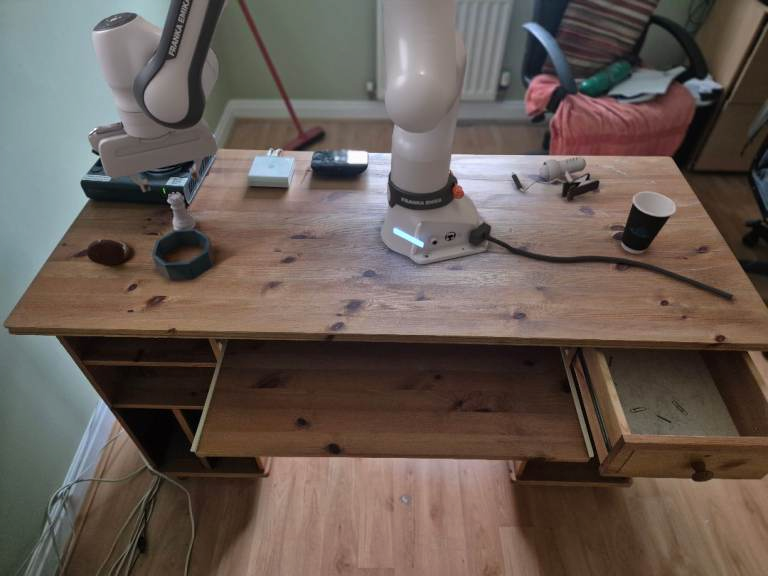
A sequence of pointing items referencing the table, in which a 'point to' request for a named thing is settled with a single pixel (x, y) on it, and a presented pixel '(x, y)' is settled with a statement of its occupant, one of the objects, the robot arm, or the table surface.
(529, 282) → the table surface
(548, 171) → the clip-on lamp
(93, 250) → the dark brown rounded lump
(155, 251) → the octagonal bangle
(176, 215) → the rook chess piece
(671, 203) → the dixie cup
